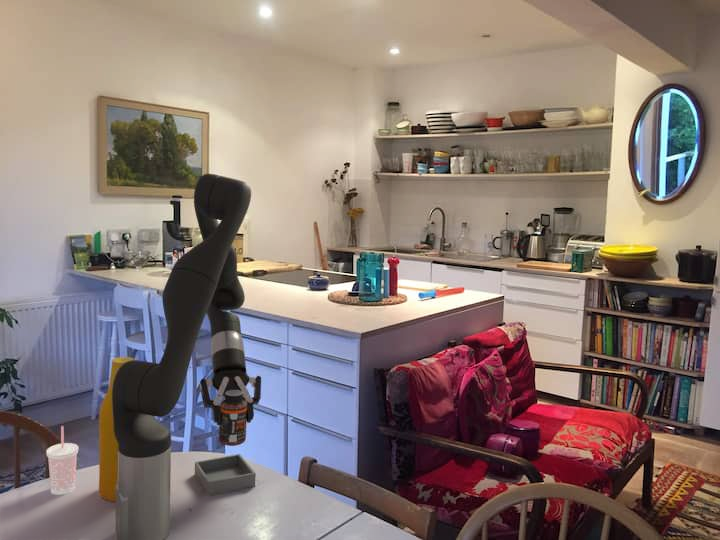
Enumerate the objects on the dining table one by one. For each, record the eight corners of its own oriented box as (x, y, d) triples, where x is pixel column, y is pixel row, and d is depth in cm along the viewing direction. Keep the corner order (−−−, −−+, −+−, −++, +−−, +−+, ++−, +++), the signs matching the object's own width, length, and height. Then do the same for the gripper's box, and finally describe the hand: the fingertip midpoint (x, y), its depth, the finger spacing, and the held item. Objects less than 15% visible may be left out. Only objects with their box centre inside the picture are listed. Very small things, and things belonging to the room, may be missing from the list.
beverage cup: (40, 491, 126) (39, 427, 124) (66, 479, 131) (65, 418, 129) (59, 499, 123) (58, 434, 121) (85, 487, 128) (84, 424, 126)
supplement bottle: (239, 448, 129) (241, 398, 128) (214, 444, 131) (215, 395, 129) (250, 437, 135) (251, 389, 134) (225, 434, 136) (226, 386, 135)
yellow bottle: (93, 487, 128) (93, 356, 124) (138, 477, 134) (138, 351, 130) (105, 507, 121) (105, 368, 117) (151, 495, 127) (153, 362, 123)
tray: (208, 496, 127) (208, 482, 127) (194, 474, 136) (194, 462, 136) (255, 486, 133) (255, 473, 132) (239, 465, 142) (239, 453, 141)
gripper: (197, 348, 135) (202, 418, 125) (261, 345, 140) (269, 413, 130) (195, 363, 140) (199, 432, 131) (256, 360, 145) (264, 426, 136)
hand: (234, 422), depth 131 cm, fingers closed on supplement bottle, 6 cm apart
